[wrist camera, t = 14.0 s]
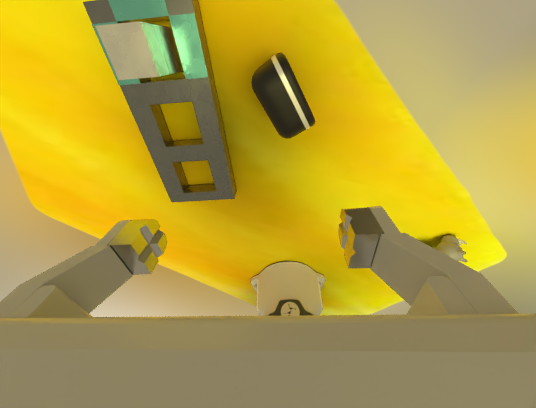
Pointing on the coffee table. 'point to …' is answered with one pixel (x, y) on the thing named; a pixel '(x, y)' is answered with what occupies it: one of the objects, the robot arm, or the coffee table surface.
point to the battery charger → (282, 97)
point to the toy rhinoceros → (452, 247)
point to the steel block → (140, 49)
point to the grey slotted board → (175, 97)
